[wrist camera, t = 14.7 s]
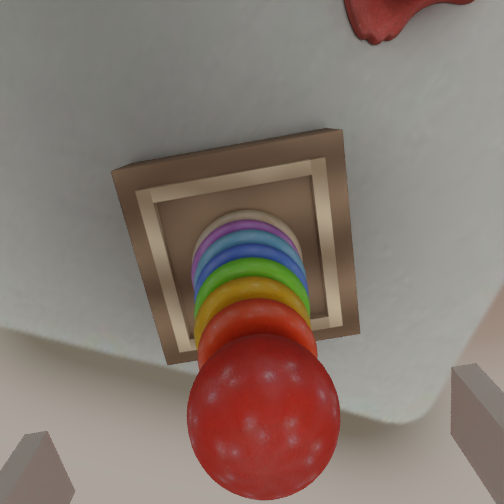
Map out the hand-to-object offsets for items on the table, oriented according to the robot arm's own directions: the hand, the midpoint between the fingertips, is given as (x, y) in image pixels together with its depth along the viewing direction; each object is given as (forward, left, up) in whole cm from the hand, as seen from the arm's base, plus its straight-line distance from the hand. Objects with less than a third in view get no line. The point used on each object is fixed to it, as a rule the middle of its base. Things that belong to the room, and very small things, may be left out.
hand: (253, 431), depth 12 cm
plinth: (0, 0, -22) cm, 22 cm away
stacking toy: (0, 0, -17) cm, 17 cm away
